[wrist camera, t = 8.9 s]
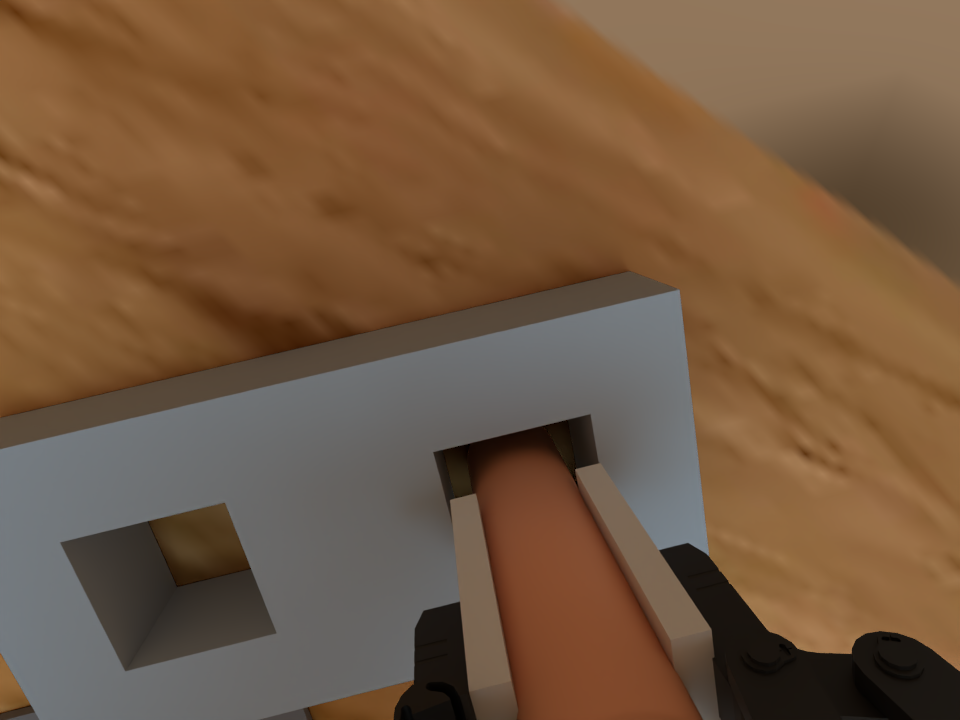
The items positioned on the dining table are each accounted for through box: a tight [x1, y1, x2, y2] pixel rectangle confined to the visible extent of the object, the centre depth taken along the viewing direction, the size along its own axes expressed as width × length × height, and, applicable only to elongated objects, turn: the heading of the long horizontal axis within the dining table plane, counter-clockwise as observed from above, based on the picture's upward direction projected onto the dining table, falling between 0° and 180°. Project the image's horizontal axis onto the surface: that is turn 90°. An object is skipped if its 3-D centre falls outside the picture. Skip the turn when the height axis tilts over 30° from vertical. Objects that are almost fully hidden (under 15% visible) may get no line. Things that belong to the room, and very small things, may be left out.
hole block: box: [0, 271, 709, 720], centre depth 19 cm, size 22×11×4 cm, turn 102°
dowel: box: [467, 426, 703, 720], centre depth 15 cm, size 3×3×12 cm
